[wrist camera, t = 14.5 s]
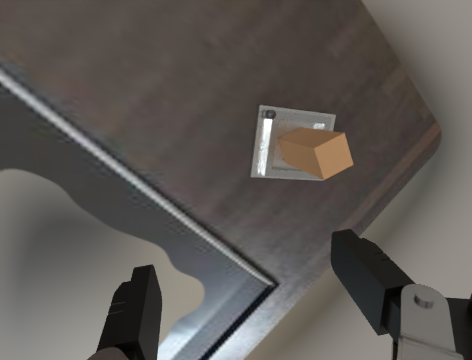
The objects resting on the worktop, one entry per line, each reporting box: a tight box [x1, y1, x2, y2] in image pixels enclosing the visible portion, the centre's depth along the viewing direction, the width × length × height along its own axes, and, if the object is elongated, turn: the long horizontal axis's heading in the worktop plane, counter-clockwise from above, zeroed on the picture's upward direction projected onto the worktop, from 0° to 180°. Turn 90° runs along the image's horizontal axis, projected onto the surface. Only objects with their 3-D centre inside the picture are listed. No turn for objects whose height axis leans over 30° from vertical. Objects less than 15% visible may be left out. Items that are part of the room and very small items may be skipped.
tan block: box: [277, 127, 353, 180], centre depth 37 cm, size 4×4×10 cm
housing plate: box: [249, 105, 336, 181], centre depth 41 cm, size 12×10×3 cm
